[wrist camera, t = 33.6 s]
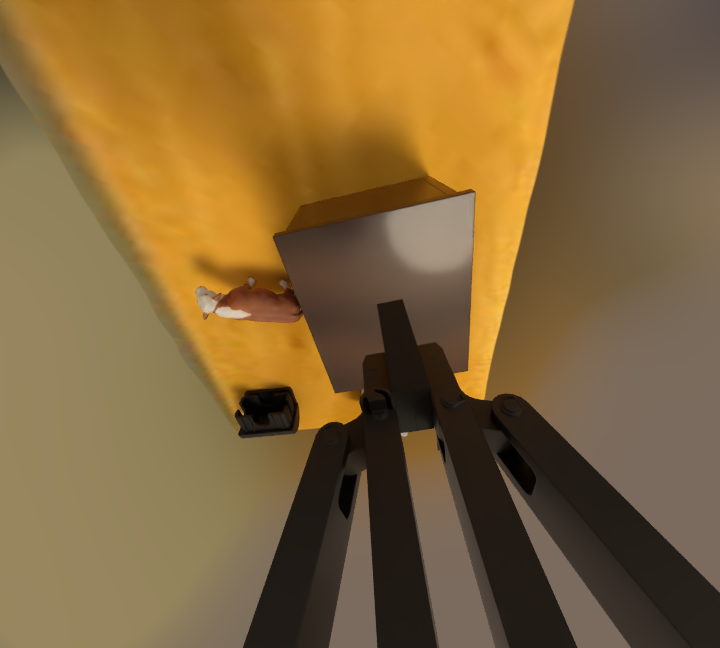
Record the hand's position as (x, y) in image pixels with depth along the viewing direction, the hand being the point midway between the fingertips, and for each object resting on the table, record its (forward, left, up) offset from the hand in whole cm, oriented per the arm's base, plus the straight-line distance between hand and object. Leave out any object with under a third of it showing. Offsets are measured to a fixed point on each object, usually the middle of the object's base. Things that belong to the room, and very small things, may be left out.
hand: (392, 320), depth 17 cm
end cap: (+30, -25, -24) cm, 46 cm away
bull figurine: (+6, -17, -24) cm, 30 cm away
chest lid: (+6, 0, -10) cm, 12 cm away
